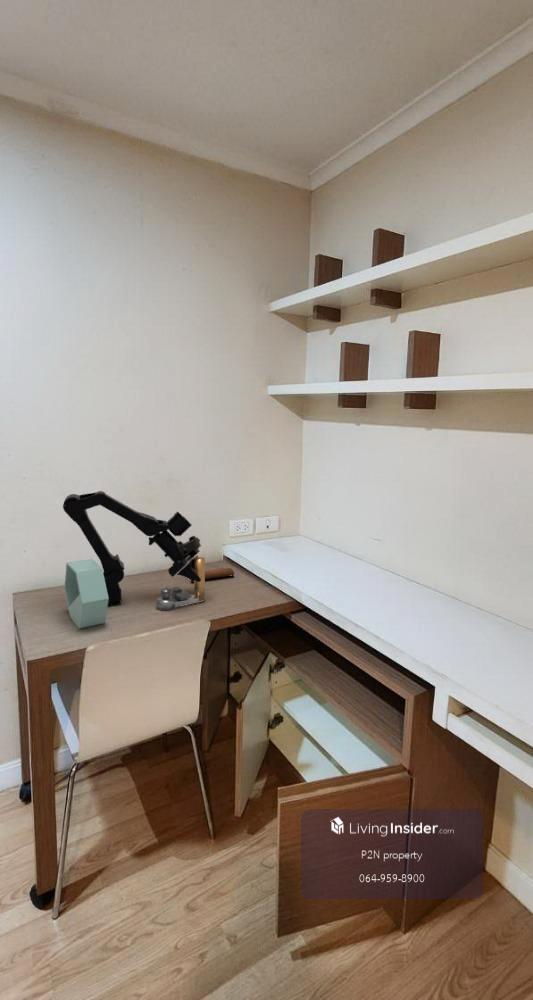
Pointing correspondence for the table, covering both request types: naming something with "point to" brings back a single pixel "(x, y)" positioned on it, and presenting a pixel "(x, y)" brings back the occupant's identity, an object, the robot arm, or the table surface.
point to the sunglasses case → (217, 573)
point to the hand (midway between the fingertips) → (201, 579)
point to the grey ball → (166, 593)
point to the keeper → (180, 593)
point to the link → (198, 589)
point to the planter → (86, 593)
